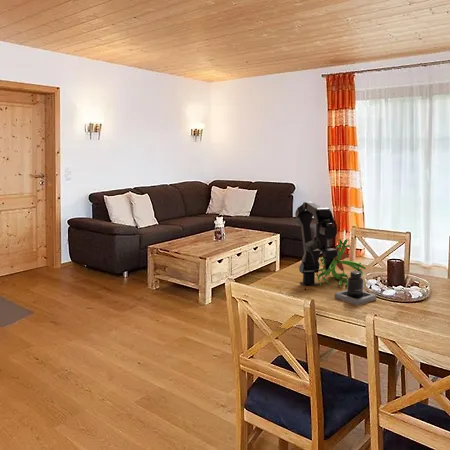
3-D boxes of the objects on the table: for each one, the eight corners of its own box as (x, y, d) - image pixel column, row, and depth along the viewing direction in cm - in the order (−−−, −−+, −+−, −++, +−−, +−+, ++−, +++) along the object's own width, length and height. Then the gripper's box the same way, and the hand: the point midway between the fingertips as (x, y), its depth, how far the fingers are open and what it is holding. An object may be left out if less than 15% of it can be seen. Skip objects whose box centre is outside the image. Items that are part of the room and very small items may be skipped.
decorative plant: (348, 282, 249) (367, 297, 220) (304, 274, 248) (317, 288, 218) (358, 236, 246) (379, 246, 217) (314, 228, 245) (329, 237, 215)
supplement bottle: (357, 300, 201) (358, 274, 199) (344, 297, 206) (345, 272, 204) (365, 297, 206) (366, 272, 204) (352, 294, 211) (353, 269, 209)
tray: (334, 297, 207) (334, 293, 207) (352, 292, 215) (353, 288, 214) (357, 305, 197) (358, 300, 197) (376, 299, 204) (376, 294, 204)
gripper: (296, 232, 214) (296, 264, 217) (317, 239, 197) (316, 274, 200) (316, 230, 218) (316, 262, 221) (339, 237, 201) (338, 271, 203)
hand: (321, 267), depth 211 cm, fingers open, 9 cm apart
